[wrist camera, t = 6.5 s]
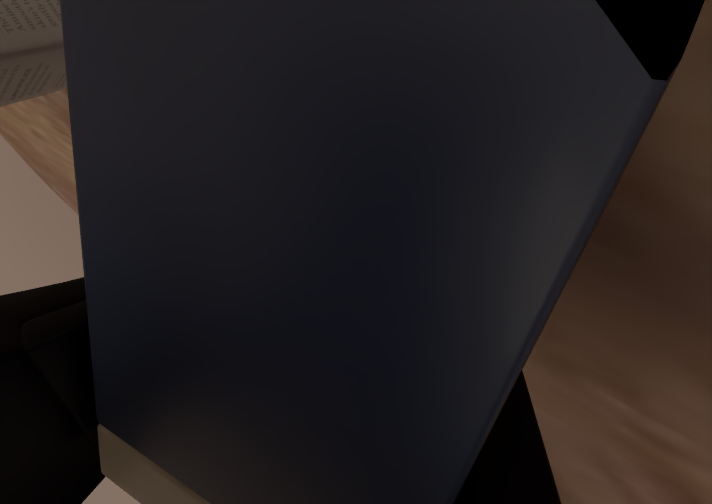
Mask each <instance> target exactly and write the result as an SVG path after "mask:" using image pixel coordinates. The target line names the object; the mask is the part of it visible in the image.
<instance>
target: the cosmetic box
mask: <svg viewBox="0 0 712 504" xmlns="http://www.w3.org/2000/svg"><path fill="white" fill-rule="evenodd" d="M66 88H67V78H66V66H65V55H64V44H63V33H62V21H61V10H60V0H0V107H1V106H5V105H8V104H12V103H15V102H19V101H23V100H26V99H30V98H34V97H37V96H41V95H45V94H48V93H52V92H55V91H58V90H62V89H66Z"/></svg>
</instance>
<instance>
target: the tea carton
mask: <svg viewBox="0 0 712 504" xmlns="http://www.w3.org/2000/svg"><path fill="white" fill-rule="evenodd" d="M704 1H705V0H60V10H61V21H62V33H63V44H64V55H65V66H66V78H67V89H68V100H69V111H70V123H71V134H72V145H73V156H74V168H75V179H76V190H77V201H78V213H79V224H80V235H81V246H82V258H83V269H84V280H85V291H86V303H87V314H88V325H89V336H90V348H91V359H92V370H93V381H94V393H95V404H96V415H97V421H98V423H99V425H98V427H97V431H98V442H99V453H100V464H101V472H102V474H103V475H105V476H106V477H107V478H109V479H110V480H111V481H112V482H114V483H115V484H116V485H118V486H119V487H120V488H122V489H123V490H124V491H126V492H127V493H128V494H129V495H131V496H132V497H133V498H134V499H136V500H137V501H138V502H140V503H141V504H453V503H454V501H455V499H456V497H457V496H458V494H459V492H460V490H461V488H462V486H463V484H464V482H465V480H466V478H467V476H468V474H469V472H470V470H471V468H472V466H473V464H474V462H475V460H476V458H477V457H478V455H479V453H480V451H481V449H482V447H483V445H484V443H485V441H486V439H487V437H488V435H489V433H490V431H491V429H492V427H493V425H494V423H495V421H496V419H497V417H498V416H499V414H500V412H501V410H502V408H503V406H504V404H505V402H506V400H507V398H508V396H509V394H510V392H511V390H512V388H513V386H514V384H515V382H516V380H517V378H518V377H519V375H520V373H521V371H522V369H523V367H524V365H525V363H526V361H527V359H528V357H529V355H530V353H531V351H532V349H533V347H534V345H535V343H536V341H537V339H538V337H539V336H540V334H541V332H542V330H543V328H544V326H545V324H546V322H547V320H548V318H549V316H550V314H551V312H552V310H553V308H554V306H555V304H556V302H557V300H558V298H559V297H560V295H561V293H562V291H563V289H564V287H565V285H566V283H567V281H568V279H569V277H570V275H571V273H572V271H573V269H574V267H575V265H576V263H577V261H578V259H579V257H580V256H581V254H582V252H583V250H584V248H585V246H586V244H587V242H588V240H589V238H590V236H591V234H592V232H593V230H594V228H595V226H596V224H597V222H598V220H599V218H600V217H601V215H602V213H603V211H604V209H605V207H606V205H607V203H608V201H609V199H610V197H611V195H612V193H613V191H614V189H615V187H616V185H617V183H618V181H619V179H620V177H621V176H622V174H623V172H624V170H625V168H626V166H627V164H628V162H629V160H630V158H631V156H632V154H633V152H634V150H635V148H636V146H637V144H638V142H639V140H640V138H641V137H642V135H643V133H644V131H645V129H646V127H647V125H648V123H649V121H650V119H651V117H652V115H653V113H654V111H655V109H656V107H657V105H658V103H659V101H660V99H661V97H662V96H663V94H664V92H665V90H666V88H667V86H668V84H669V82H670V80H671V78H672V76H673V74H674V72H675V70H676V68H677V66H678V64H679V62H680V60H681V58H682V56H683V54H684V51H685V49H686V46H687V44H688V41H689V39H690V36H691V34H692V31H693V29H694V26H695V24H696V21H697V19H698V16H699V14H700V11H701V9H702V6H703V4H704Z"/></svg>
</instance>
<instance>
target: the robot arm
mask: <svg viewBox="0 0 712 504" xmlns="http://www.w3.org/2000/svg"><path fill="white" fill-rule="evenodd" d="M98 425H99V423H98V421H97V415H96V404H95V393H94V381H93V370H92V359H91V348H90V336H89V325H88V314H87V303H86V291H85V280H84V277H83V278H79V279H75V280H71V281H67V282H63V283H58V284H53V285H49V286H44V287H40V288H35V289H30V290H26V291H21V292H16V293H11V294H6V295H1V296H0V504H82V502H83V501H84V500H85V499H86V498H87V497H88V496H89V495H90V493H91V492H92V491H93V490H94V489H95V488H96V487H97V486H98V484H99V483H100V482H101V481H102V480H103V479H104V478H105V477H106V476H105V475H103V474H102V472H101V464H100V453H99V442H98V431H97V427H98ZM453 504H561V501H560V498H559V494H558V491H557V487H556V484H555V481H554V477H553V474H552V470H551V467H550V463H549V460H548V457H547V453H546V450H545V446H544V443H543V440H542V436H541V433H540V429H539V426H538V422H537V419H536V416H535V412H534V409H533V405H532V402H531V398H530V395H529V392H528V388H527V385H526V381H525V378H524V375H523V371H521V373H520V375H519V377H518V378H517V380H516V382H515V384H514V386H513V388H512V390H511V392H510V394H509V396H508V398H507V400H506V402H505V404H504V406H503V408H502V410H501V412H500V414H499V416H498V417H497V419H496V421H495V423H494V425H493V427H492V429H491V431H490V433H489V435H488V437H487V439H486V441H485V443H484V445H483V447H482V449H481V451H480V453H479V455H478V457H477V458H476V460H475V462H474V464H473V466H472V468H471V470H470V472H469V474H468V476H467V478H466V480H465V482H464V484H463V486H462V488H461V490H460V492H459V494H458V496H457V497H456V499H455V501H454V503H453Z"/></svg>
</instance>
